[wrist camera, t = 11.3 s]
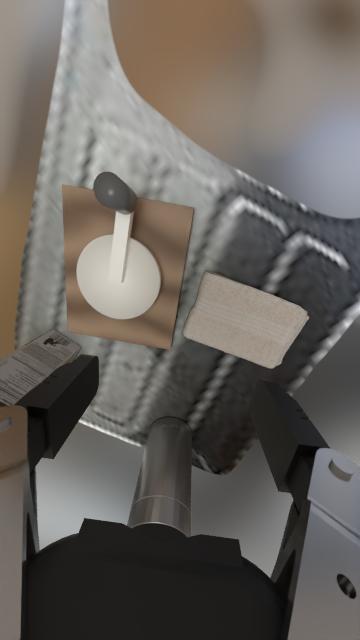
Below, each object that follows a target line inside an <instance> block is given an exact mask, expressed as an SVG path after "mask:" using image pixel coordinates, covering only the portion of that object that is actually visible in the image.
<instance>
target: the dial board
mask: <svg viewBox="0 0 360 640" xmlns="http://www.w3.org/2000/svg"><path fill="white" fill-rule="evenodd" d="M62 196H63V222H64V248H65V273H66V299H67V324H68V332H72V333H77V334H83V335H89V336H95V337H100V338H106V339H112V340H117V341H123V342H129V343H134V344H140V345H146V346H152V347H157V348H163V349H169V350H170V349H171V343H172V337H173V331H174V325H175V319H176V313H177V307H178V302H179V296H180V290H181V284H182V278H183V272H184V266H185V260H186V254H187V248H188V242H189V236H190V230H191V224H192V218H193V212H194V208H192V207H187V206H181V205H175V204H170V203H164V202H158V201H153V200H147V199H141V198H137V206H136V209H135V210H134V214H133V221H132V228H131V235H130V237H131V238H134V239H136V240H138V241H140V242H141V243H143V244H144V245H145V246H146V247H147V248H148V249H149V250H150V251H151V252H152V253H153V255H154V256H155V258H156V260H157V262H158V264H159V267H160V271H161V288H160V291H159V294H158V296H157V298H156V300H155V301H154V303H153V304H152V306H151V307H150V308H149V309H148V310H147V311H146V312H144V313H143V314H141V315H139V316H137V317H134V318H131V319H115V318H111V317H108V316H105V315H103V314H101V313H100V312H98V311H97V310H95V309H94V308H93V307H92V306H91V305H90V304H89V303H88V302H87V301H86V299H85V298H84V296H83V294H82V293H81V291H80V288H79V285H78V281H77V263H78V259H79V257H80V254H81V253H82V251H83V249H84V248H85V247H86V246H87V245H88V244H89V243H90V242H91V241H93V240H94V239H96V238H99V237H101V236H105V235H113V234H114V226H115V217H116V211H114V210H112V209H110V208H107V207H105V206H103V205H102V204H100V203H99V202H98V200H97V199H96V197H95V194H94V190H90V189H84V188H79V187H73V186H67V185H62Z"/></svg>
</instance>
